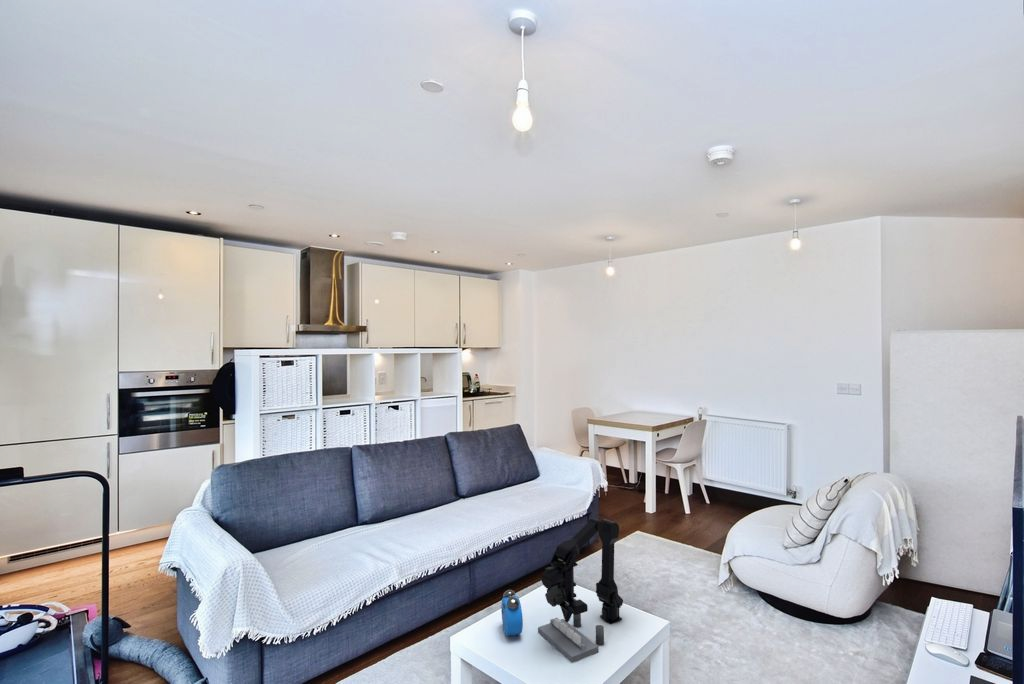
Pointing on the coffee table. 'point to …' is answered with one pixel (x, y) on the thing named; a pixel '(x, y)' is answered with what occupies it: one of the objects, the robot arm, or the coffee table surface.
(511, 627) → the alarm clock
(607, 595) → the robot arm
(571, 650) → the breaker panel
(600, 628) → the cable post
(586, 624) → the coffee table surface
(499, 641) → the coffee table surface
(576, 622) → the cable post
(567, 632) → the breaker paddles
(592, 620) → the coffee table surface
